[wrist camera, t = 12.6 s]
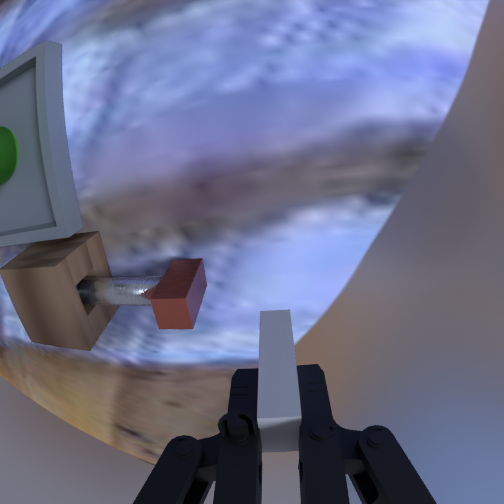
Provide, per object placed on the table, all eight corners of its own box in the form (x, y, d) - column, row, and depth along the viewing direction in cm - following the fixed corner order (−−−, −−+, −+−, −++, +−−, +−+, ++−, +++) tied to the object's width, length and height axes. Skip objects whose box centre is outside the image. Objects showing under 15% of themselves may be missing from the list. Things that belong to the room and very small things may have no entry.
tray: (-35, 108, 16) (-50, 110, 14) (61, 44, 15) (45, 40, 13) (-14, 242, 22) (-26, 251, 20) (83, 227, 21) (69, 237, 19)
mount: (99, 231, 21) (54, 266, 16) (120, 304, 24) (90, 350, 18) (42, 238, 22) (-2, 269, 16) (65, 303, 25) (31, 342, 19)
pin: (202, 258, 21) (185, 298, 16) (207, 285, 22) (193, 329, 17) (85, 265, 21) (52, 298, 17) (93, 288, 22) (63, 324, 18)
